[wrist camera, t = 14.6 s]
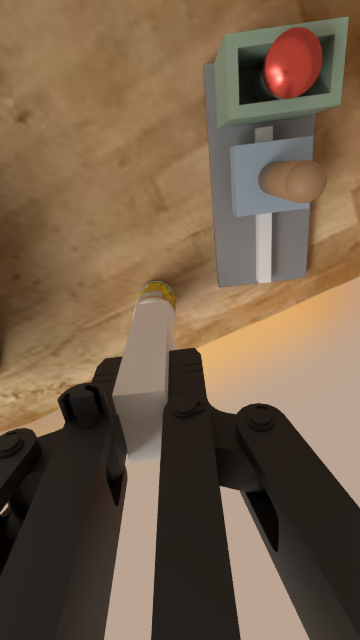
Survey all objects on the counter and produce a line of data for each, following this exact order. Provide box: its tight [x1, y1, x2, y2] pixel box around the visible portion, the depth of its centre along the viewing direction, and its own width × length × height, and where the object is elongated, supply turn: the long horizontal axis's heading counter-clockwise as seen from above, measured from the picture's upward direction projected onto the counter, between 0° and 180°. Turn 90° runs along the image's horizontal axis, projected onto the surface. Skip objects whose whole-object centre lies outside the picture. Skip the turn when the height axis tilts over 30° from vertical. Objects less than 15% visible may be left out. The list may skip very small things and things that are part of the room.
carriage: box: [230, 136, 326, 217], centre depth 31 cm, size 8×7×15 cm
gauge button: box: [250, 27, 322, 103], centre depth 29 cm, size 4×4×9 cm
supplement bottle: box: [133, 281, 175, 326], centre depth 42 cm, size 5×5×10 cm
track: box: [203, 16, 349, 288], centre depth 35 cm, size 12×25×10 cm, turn 7°
